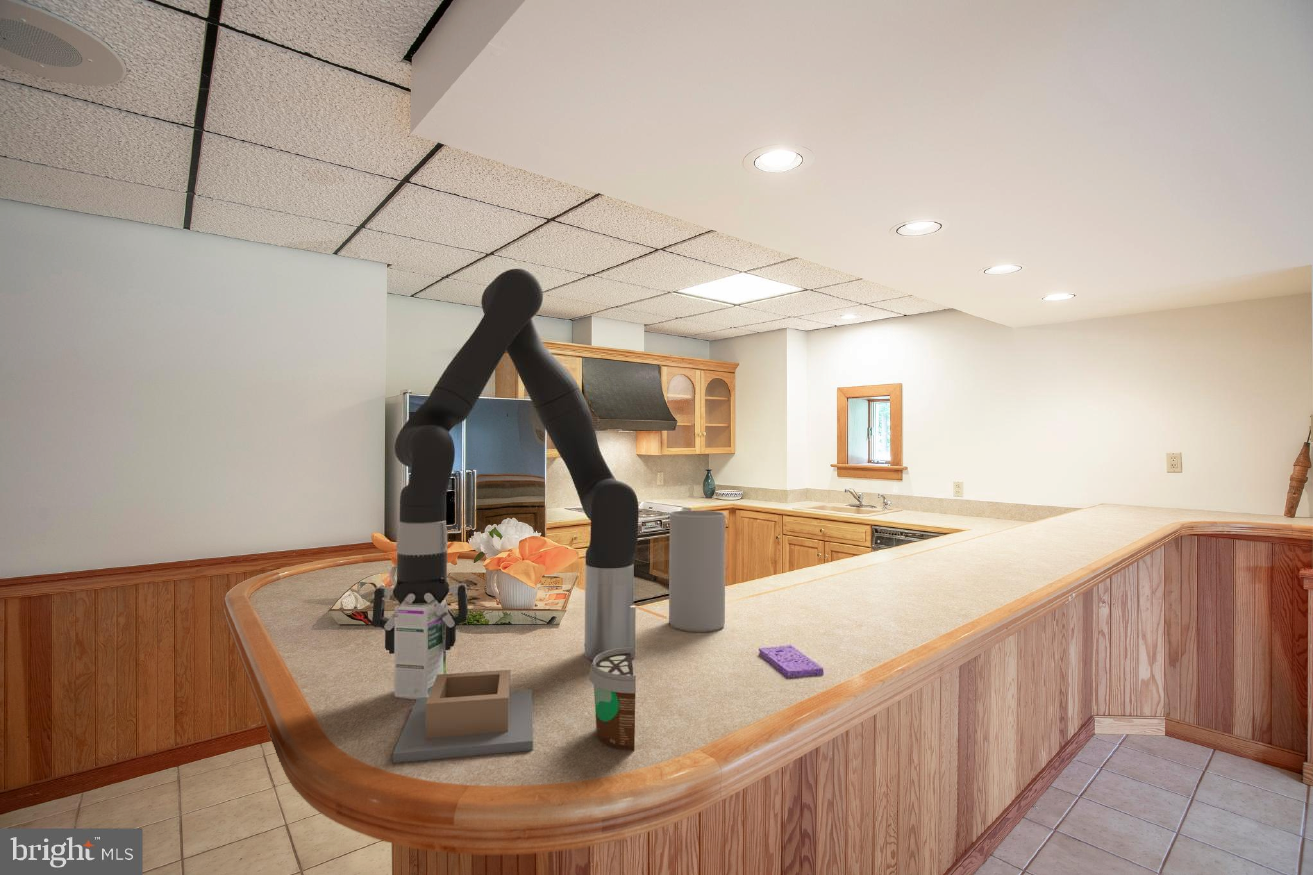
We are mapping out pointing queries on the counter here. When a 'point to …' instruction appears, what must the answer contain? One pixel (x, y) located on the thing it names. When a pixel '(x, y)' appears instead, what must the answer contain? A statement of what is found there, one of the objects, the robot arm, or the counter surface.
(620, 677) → the food container
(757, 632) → the counter surface
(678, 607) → the cylinder vase
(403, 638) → the syrup box
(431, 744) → the socket holder
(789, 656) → the sponges
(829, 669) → the counter surface
